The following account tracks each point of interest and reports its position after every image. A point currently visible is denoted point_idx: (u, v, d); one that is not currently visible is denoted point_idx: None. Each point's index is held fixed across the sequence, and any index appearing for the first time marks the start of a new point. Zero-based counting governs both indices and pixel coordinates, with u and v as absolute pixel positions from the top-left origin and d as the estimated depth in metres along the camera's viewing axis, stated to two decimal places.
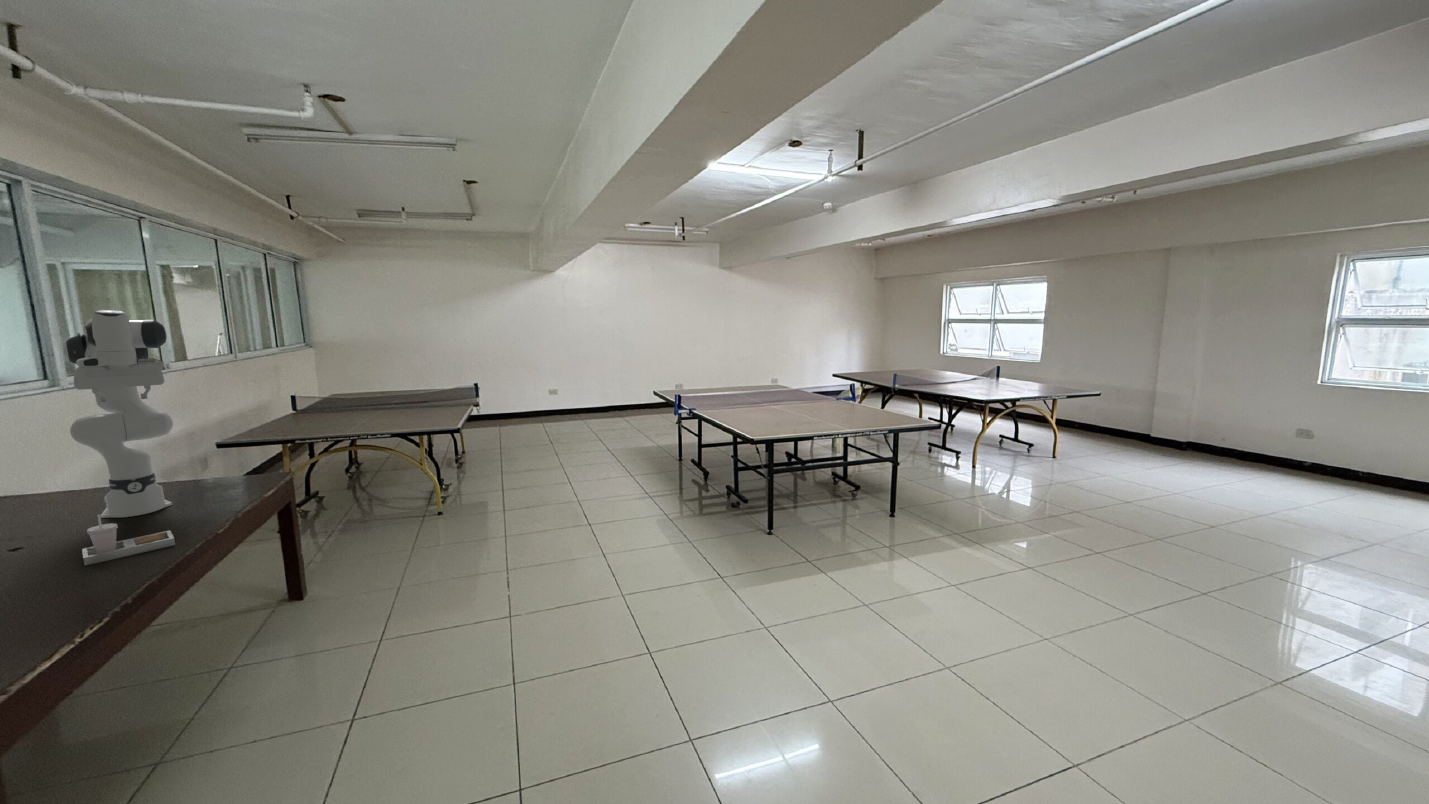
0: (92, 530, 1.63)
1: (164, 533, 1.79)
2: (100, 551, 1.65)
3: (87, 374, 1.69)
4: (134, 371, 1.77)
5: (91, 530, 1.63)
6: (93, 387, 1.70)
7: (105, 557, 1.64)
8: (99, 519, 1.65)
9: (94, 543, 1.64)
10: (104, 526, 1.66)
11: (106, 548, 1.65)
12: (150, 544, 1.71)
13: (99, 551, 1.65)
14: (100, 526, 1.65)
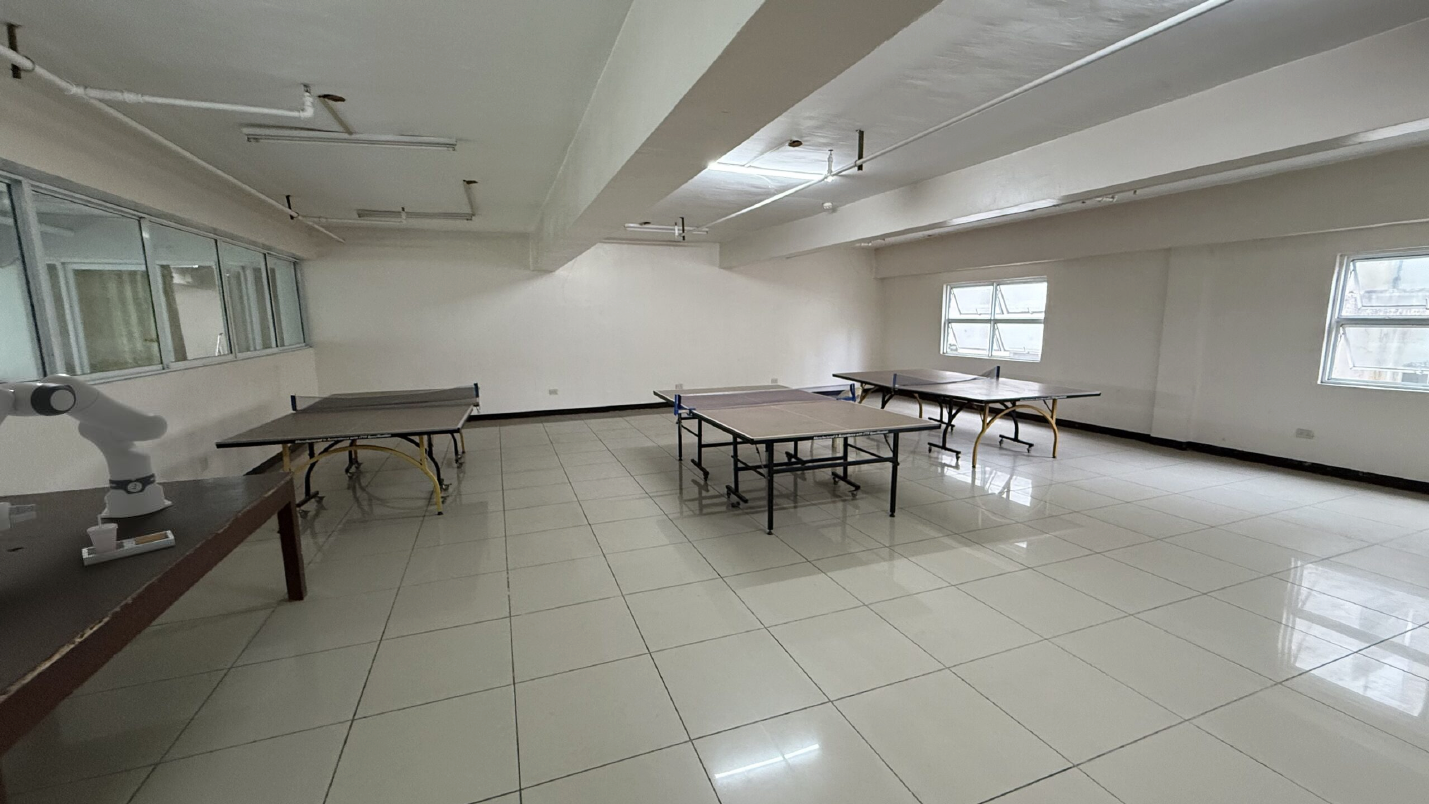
0: (92, 530, 1.63)
1: (164, 533, 1.79)
2: (100, 551, 1.65)
3: None
4: None
5: (91, 530, 1.63)
6: (8, 515, 1.55)
7: (105, 557, 1.64)
8: (99, 519, 1.65)
9: (94, 543, 1.64)
10: (104, 526, 1.66)
11: (106, 548, 1.65)
12: (150, 544, 1.71)
13: (99, 551, 1.65)
14: (100, 526, 1.65)
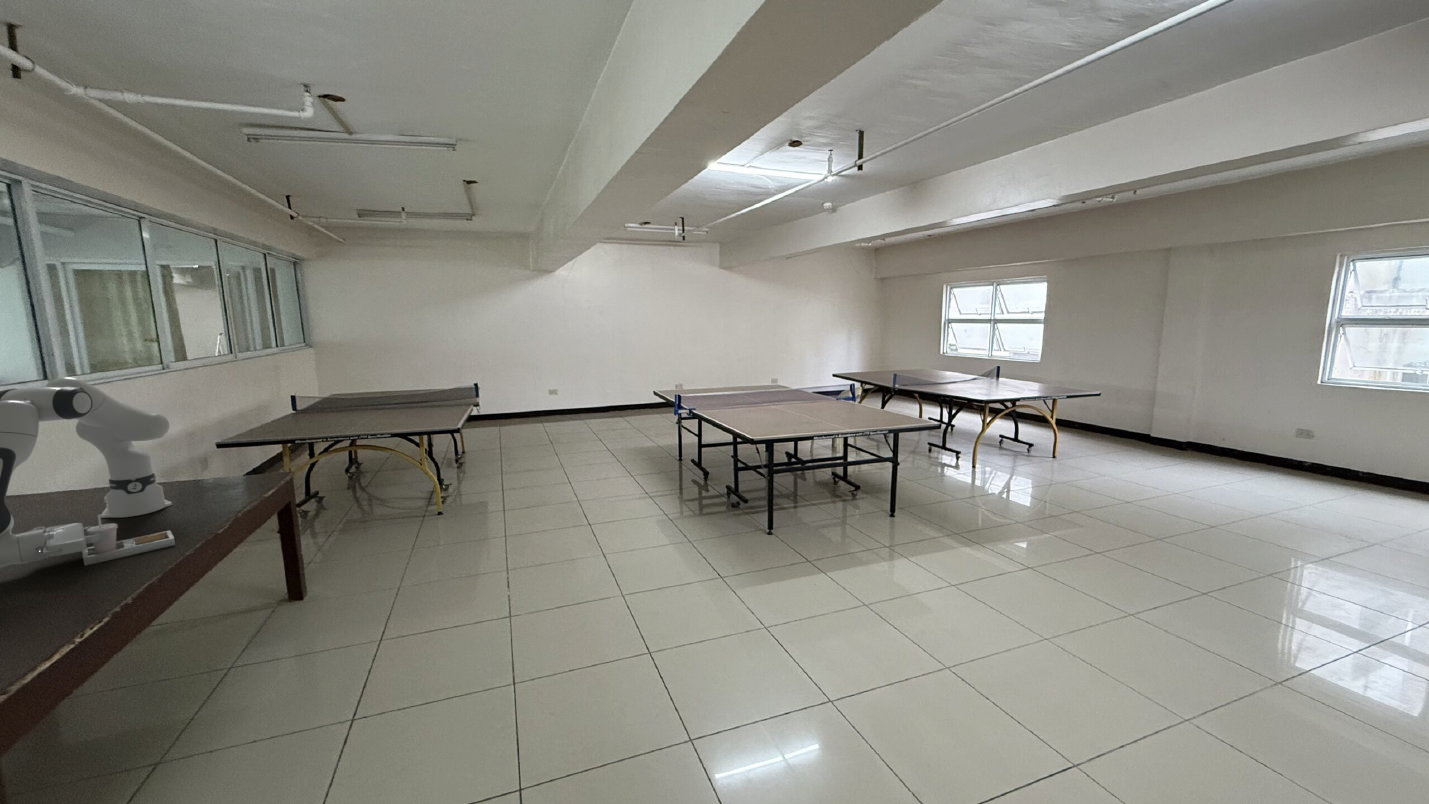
0: (92, 530, 1.63)
1: (164, 533, 1.79)
2: (100, 551, 1.65)
3: None
4: None
5: (91, 530, 1.63)
6: None
7: (105, 557, 1.64)
8: (99, 519, 1.65)
9: (94, 543, 1.64)
10: (104, 526, 1.66)
11: (106, 548, 1.65)
12: (150, 544, 1.71)
13: (99, 551, 1.65)
14: (100, 526, 1.65)
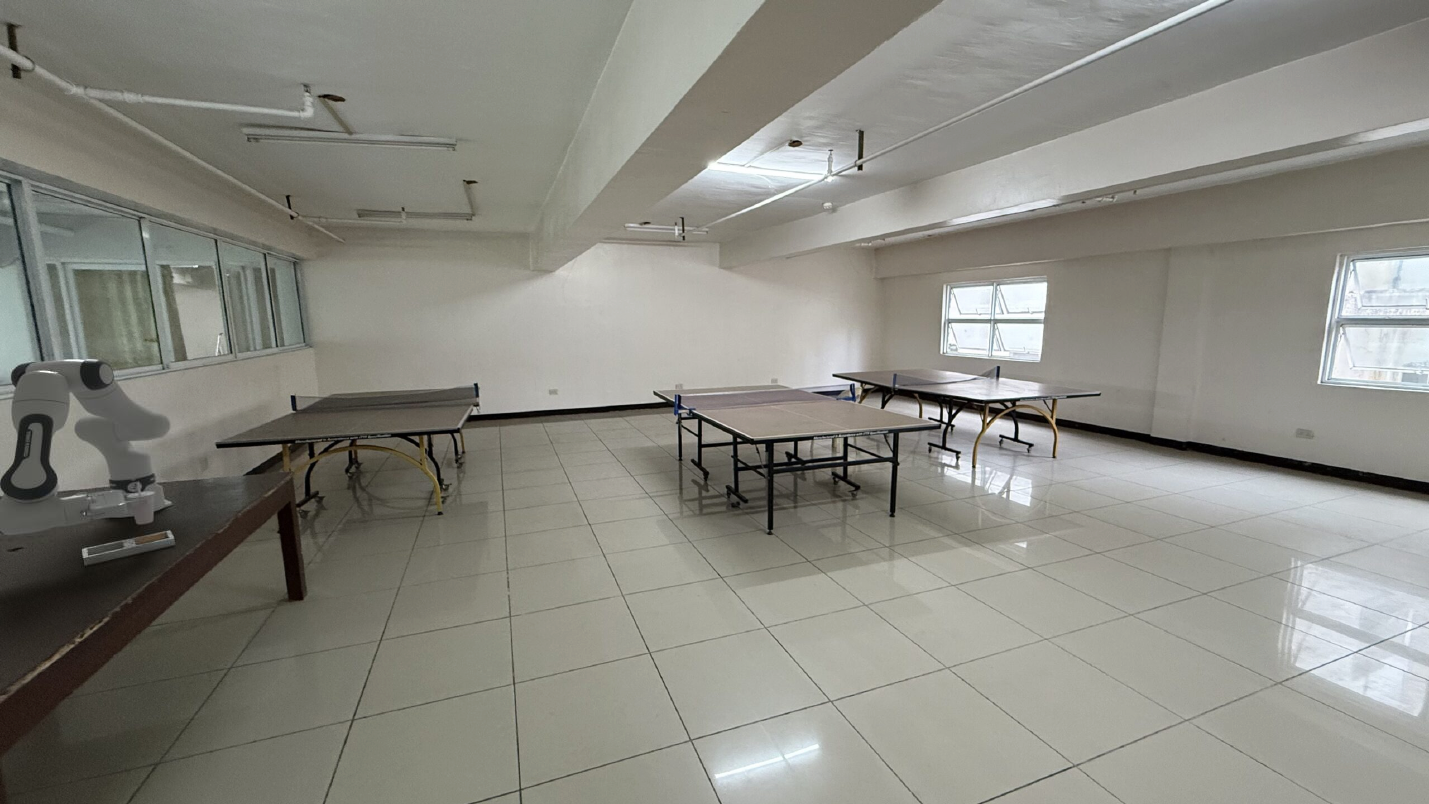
0: (132, 496, 1.69)
1: (164, 533, 1.79)
2: (139, 517, 1.71)
3: None
4: None
5: (131, 496, 1.69)
6: None
7: (105, 557, 1.64)
8: (138, 486, 1.70)
9: (133, 509, 1.70)
10: (143, 493, 1.72)
11: (145, 515, 1.71)
12: (150, 544, 1.71)
13: (138, 517, 1.71)
14: (139, 493, 1.71)
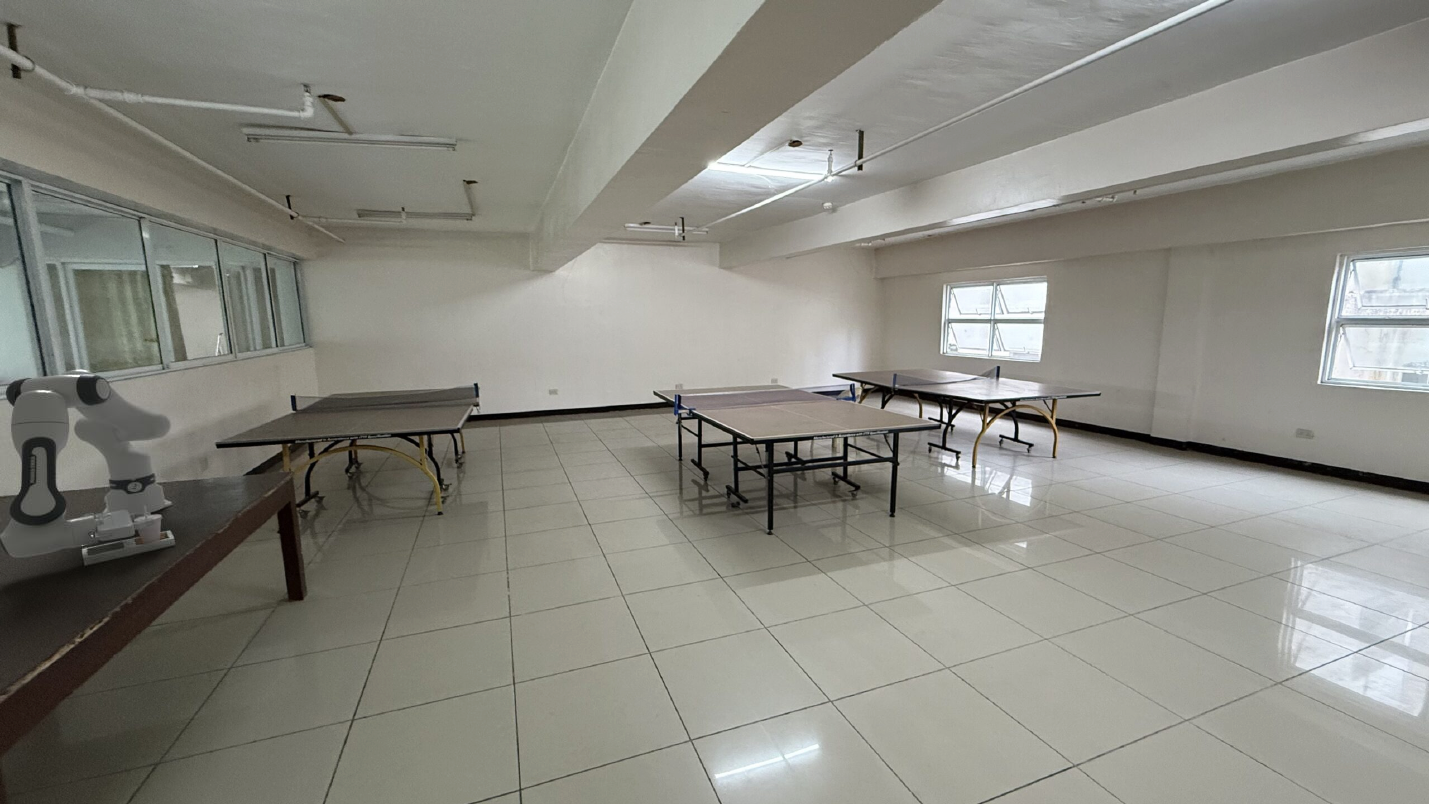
0: (139, 520, 1.70)
1: (164, 533, 1.79)
2: (146, 541, 1.72)
3: None
4: None
5: (138, 520, 1.70)
6: None
7: (105, 557, 1.64)
8: (145, 510, 1.72)
9: (140, 533, 1.71)
10: (149, 517, 1.73)
11: (152, 538, 1.73)
12: (150, 544, 1.71)
13: (145, 541, 1.72)
14: (146, 517, 1.72)
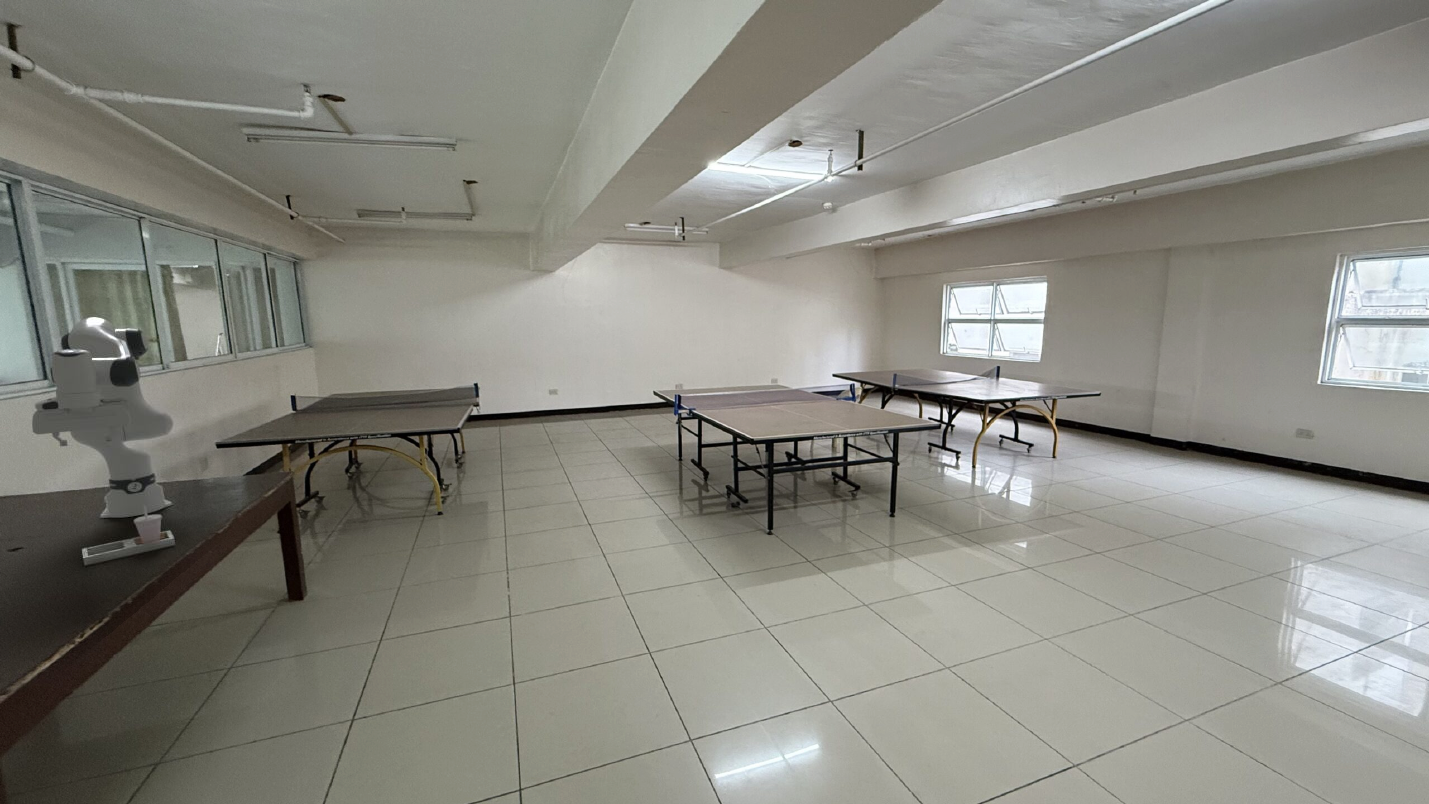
0: (139, 520, 1.70)
1: (164, 533, 1.79)
2: (146, 541, 1.72)
3: (47, 418, 1.60)
4: (98, 413, 1.68)
5: (138, 520, 1.70)
6: (53, 431, 1.62)
7: (105, 557, 1.64)
8: (145, 510, 1.72)
9: (140, 533, 1.71)
10: (149, 517, 1.73)
11: (152, 538, 1.73)
12: (150, 544, 1.71)
13: (145, 541, 1.72)
14: (146, 517, 1.72)
